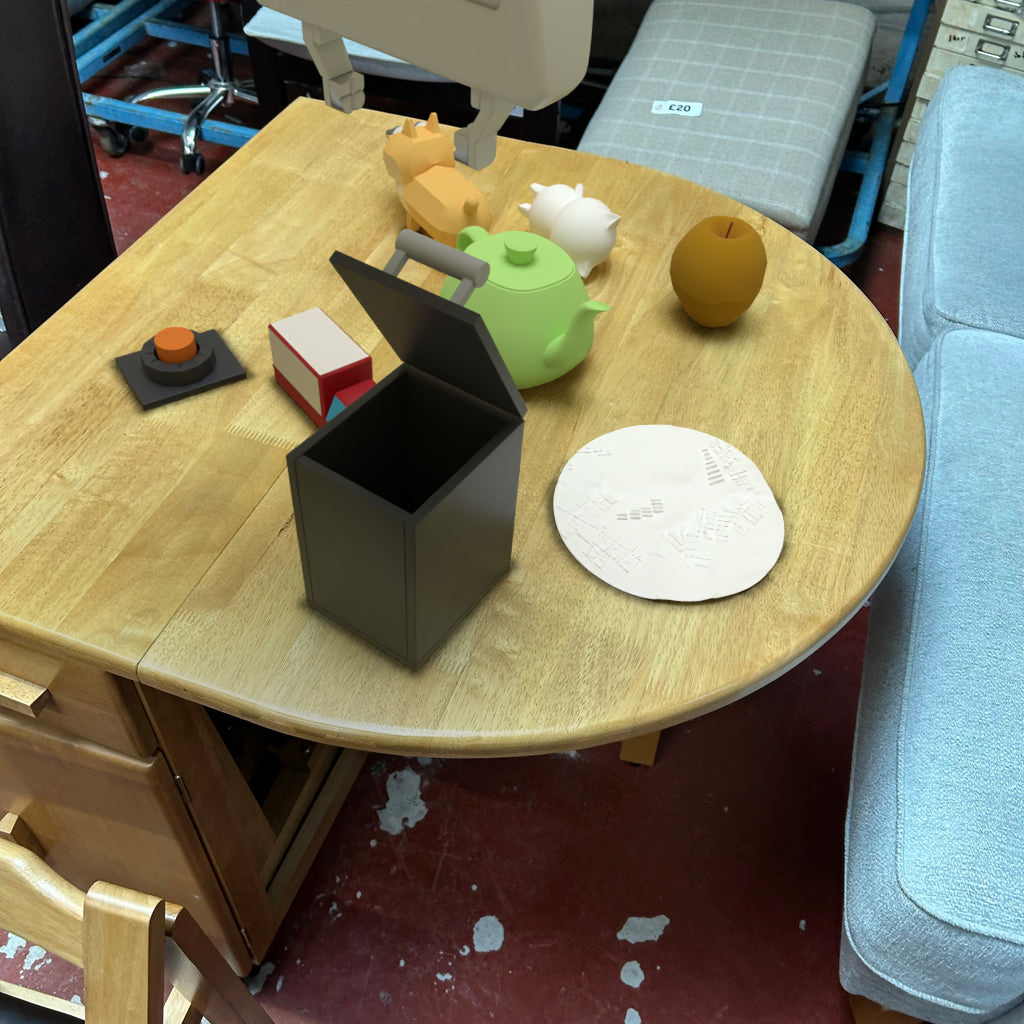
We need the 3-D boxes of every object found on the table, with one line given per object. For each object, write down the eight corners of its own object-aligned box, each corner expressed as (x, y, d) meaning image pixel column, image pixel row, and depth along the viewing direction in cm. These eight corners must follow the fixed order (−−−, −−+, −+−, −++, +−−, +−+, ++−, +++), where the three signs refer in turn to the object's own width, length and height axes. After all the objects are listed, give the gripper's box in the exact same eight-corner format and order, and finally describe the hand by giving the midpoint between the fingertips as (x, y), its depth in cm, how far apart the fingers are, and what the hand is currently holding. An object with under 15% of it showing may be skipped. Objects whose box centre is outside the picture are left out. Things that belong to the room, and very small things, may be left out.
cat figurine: (537, 156, 107) (603, 201, 100) (594, 187, 115) (659, 230, 108) (499, 227, 110) (561, 275, 103) (558, 252, 118) (618, 298, 111)
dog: (421, 189, 119) (421, 84, 110) (508, 268, 108) (515, 159, 99) (364, 203, 116) (359, 96, 106) (448, 286, 105) (450, 175, 95)
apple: (643, 315, 103) (662, 217, 95) (695, 283, 109) (718, 186, 100) (716, 357, 99) (743, 257, 91) (767, 321, 104) (797, 224, 96)
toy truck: (356, 470, 84) (352, 412, 79) (274, 380, 92) (266, 323, 87) (408, 446, 87) (407, 389, 82) (324, 361, 94) (319, 304, 90)
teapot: (646, 394, 94) (671, 279, 85) (526, 450, 87) (538, 333, 78) (512, 286, 106) (520, 175, 96) (397, 329, 99) (394, 213, 89)
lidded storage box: (416, 672, 70) (414, 527, 59) (306, 604, 74) (284, 455, 62) (510, 566, 78) (525, 419, 66) (406, 510, 81) (403, 361, 70)
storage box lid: (473, 325, 53) (514, 259, 54) (328, 259, 57) (368, 198, 58) (522, 419, 66) (556, 365, 67) (400, 361, 69) (433, 309, 70)
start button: (165, 369, 89) (161, 353, 87) (152, 348, 91) (148, 333, 89) (202, 357, 90) (199, 342, 89) (188, 337, 92) (185, 322, 91)
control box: (144, 410, 88) (138, 389, 86) (115, 363, 92) (109, 342, 90) (247, 377, 92) (243, 356, 90) (215, 333, 96) (211, 313, 94)
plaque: (658, 404, 92) (660, 393, 91) (828, 525, 83) (833, 513, 82) (505, 506, 83) (505, 494, 82) (678, 654, 74) (681, 643, 73)
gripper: (188, -204, 44) (234, 94, 54) (542, -104, 37) (519, 222, 47) (288, -220, 48) (314, 62, 58) (630, -132, 40) (591, 176, 50)
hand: (407, 134), depth 52 cm, fingers open, 8 cm apart
